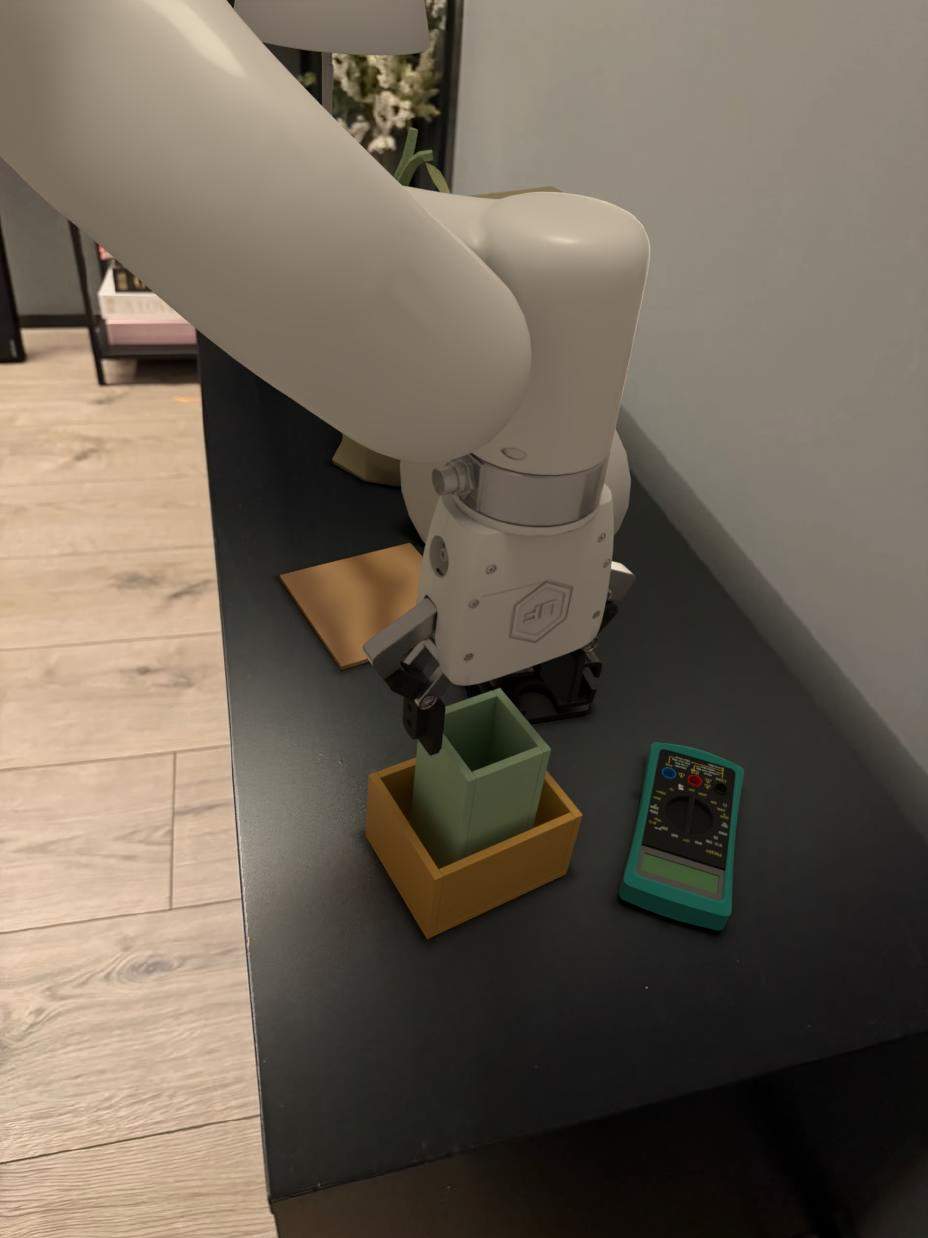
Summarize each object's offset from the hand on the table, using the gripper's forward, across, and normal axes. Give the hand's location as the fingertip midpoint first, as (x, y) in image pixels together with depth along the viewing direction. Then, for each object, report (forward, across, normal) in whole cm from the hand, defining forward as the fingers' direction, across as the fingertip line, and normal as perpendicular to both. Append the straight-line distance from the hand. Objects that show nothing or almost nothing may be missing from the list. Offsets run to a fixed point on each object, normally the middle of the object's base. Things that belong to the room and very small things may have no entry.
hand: (492, 712), depth 56 cm
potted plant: (+15, +26, +72) cm, 78 cm away
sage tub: (+14, 0, 0) cm, 14 cm away
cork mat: (+14, +6, +28) cm, 32 cm away
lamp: (+15, +40, +115) cm, 123 cm away
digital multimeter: (+15, +14, -6) cm, 21 cm away
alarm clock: (+15, +22, +30) cm, 40 cm away
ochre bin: (+14, 0, 0) cm, 14 cm away
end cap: (+15, +12, +12) cm, 23 cm away
